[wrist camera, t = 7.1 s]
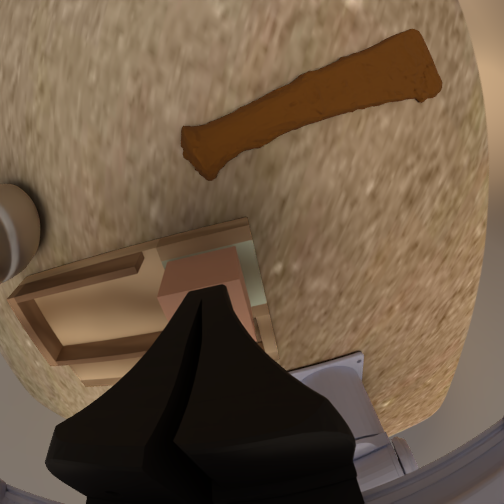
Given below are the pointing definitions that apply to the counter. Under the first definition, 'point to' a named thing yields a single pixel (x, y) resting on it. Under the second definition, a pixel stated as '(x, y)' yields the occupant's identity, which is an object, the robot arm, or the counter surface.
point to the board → (123, 302)
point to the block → (207, 282)
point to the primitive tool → (317, 100)
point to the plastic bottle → (17, 231)
